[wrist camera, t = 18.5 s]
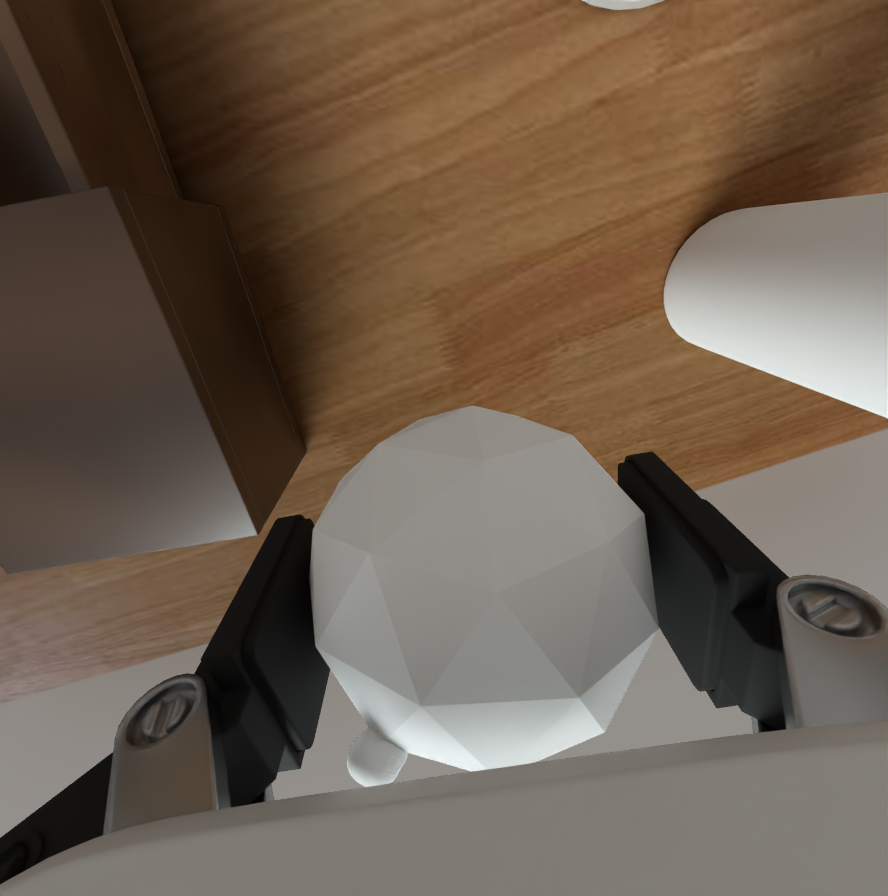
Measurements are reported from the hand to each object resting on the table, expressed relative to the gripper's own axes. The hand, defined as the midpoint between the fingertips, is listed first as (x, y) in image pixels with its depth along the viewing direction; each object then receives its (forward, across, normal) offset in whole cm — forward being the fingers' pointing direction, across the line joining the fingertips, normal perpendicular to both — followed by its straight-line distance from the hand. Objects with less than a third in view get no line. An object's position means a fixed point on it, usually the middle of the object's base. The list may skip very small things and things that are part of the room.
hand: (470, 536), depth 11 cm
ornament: (+3, 0, 0) cm, 3 cm away
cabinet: (+19, +18, -3) cm, 26 cm away
